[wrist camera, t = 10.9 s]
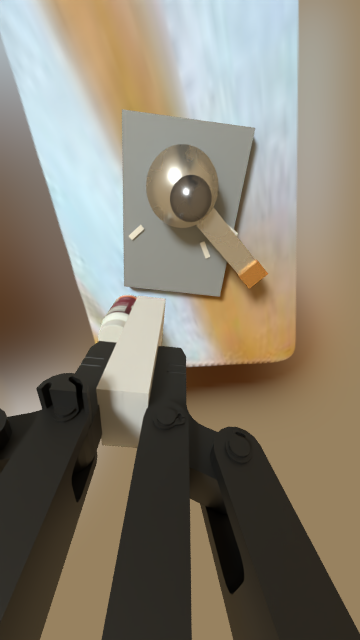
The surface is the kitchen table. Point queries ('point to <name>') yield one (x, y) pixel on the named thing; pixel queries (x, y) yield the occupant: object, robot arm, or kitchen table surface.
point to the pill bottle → (116, 318)
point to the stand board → (160, 238)
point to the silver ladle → (196, 204)
